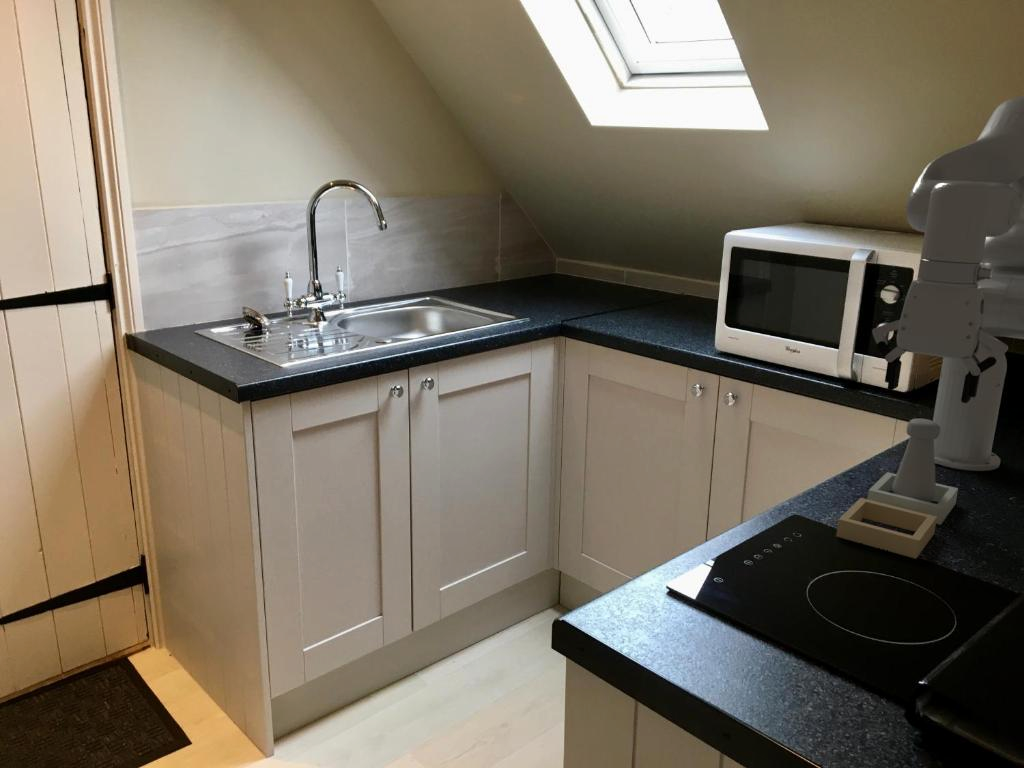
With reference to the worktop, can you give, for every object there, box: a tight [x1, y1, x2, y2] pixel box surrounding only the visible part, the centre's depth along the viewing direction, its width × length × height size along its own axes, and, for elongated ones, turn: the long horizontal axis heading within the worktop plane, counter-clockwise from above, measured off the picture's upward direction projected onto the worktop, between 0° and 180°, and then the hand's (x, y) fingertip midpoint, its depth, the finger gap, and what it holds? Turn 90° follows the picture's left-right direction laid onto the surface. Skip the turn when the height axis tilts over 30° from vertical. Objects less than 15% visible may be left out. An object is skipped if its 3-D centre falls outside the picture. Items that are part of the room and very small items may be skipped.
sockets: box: [836, 471, 959, 559], centre depth 120 cm, size 24×10×2 cm, turn 142°
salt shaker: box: [892, 418, 940, 503], centre depth 124 cm, size 6×6×13 cm
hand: (928, 394), depth 121 cm, fingers open, 9 cm apart
